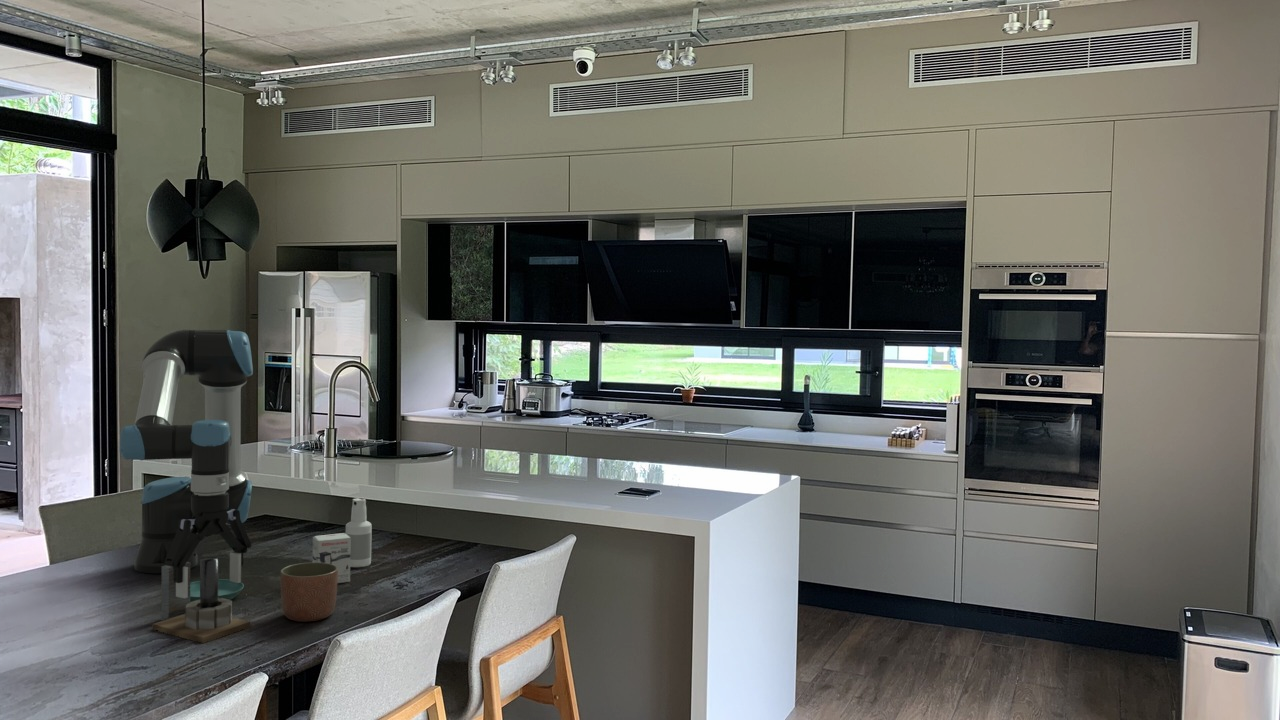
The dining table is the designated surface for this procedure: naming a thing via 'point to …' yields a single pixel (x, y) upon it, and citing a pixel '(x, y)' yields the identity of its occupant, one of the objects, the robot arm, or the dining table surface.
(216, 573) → the cylinder
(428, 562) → the dining table surface
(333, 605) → the planter
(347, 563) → the ink box
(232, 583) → the saucer
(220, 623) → the socket board
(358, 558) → the spray bottle
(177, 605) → the grey rectangular block
